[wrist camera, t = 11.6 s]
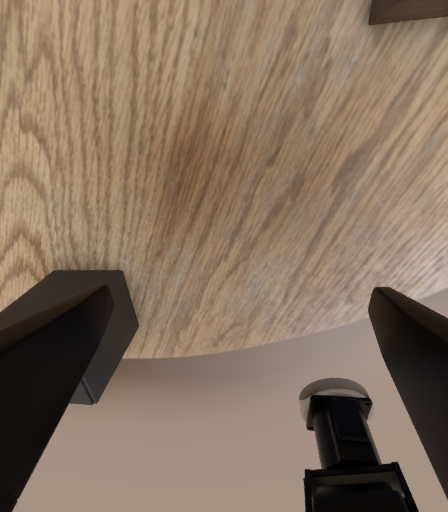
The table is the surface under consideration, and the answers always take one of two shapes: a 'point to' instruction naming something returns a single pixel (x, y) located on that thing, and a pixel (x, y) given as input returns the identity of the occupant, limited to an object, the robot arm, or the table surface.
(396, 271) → the table surface
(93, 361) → the block
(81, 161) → the table surface
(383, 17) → the holder
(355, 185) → the table surface
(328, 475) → the robot arm
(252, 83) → the table surface
